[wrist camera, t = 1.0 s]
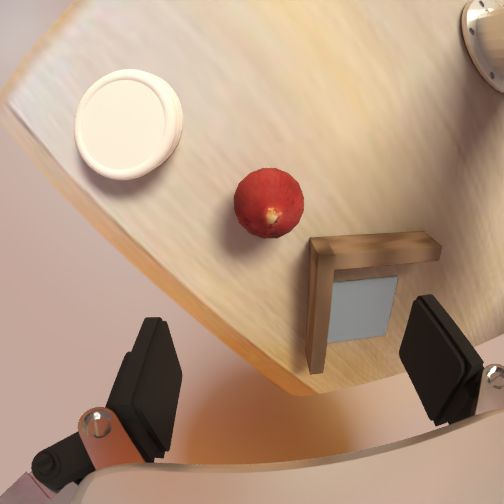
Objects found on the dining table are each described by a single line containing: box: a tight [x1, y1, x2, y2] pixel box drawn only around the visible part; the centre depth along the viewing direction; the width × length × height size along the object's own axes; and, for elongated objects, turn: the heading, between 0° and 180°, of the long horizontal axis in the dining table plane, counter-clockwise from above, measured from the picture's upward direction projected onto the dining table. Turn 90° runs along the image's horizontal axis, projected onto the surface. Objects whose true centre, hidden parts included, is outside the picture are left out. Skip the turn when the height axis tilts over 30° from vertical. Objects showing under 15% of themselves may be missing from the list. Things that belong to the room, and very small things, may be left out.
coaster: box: [74, 69, 183, 180], centre depth 24 cm, size 10×10×4 cm
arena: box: [305, 231, 442, 375], centre depth 32 cm, size 14×16×4 cm
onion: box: [234, 168, 304, 238], centre depth 25 cm, size 6×6×8 cm
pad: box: [327, 276, 398, 343], centre depth 35 cm, size 9×9×1 cm
